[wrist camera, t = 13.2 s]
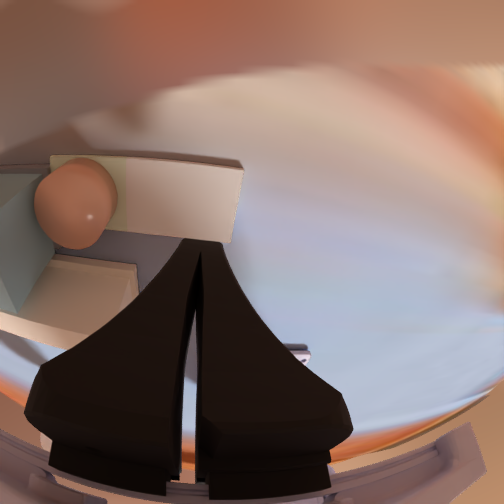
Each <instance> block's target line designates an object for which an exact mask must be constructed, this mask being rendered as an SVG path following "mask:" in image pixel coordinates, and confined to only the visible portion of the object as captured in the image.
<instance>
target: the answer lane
mask: <svg viewBox="0 0 504 504" xmlns="http://www.w3.org/2000/svg"><path fill="white" fill-rule="evenodd" d="M74 158H89V159H91V160H94V161H96V162H98V163H99V164H101V165H102V166H103V167H104V168H105V169H106V170H107V171H108V172H109V174H110V175H111V177H112V178H113V180H114V183H115V185H116V189H117V195H118V201H117V207H116V210H115V213H114V215H113V216H112V218H111V219H110V221H109V223H108V224H107V226H106V227H105V229H108V230H117V231H126V232H134V233H143V234H152V235H161V236H170V237H179V238H190V239H199V240H207V241H216V242H224V243H230V242H231V237H232V232H233V226H234V221H235V215H236V210H237V205H238V200H239V194H240V189H241V184H242V179H243V174H244V169H243V168H237V167H229V166H222V165H214V164H206V163H197V162H188V161H178V160H168V159H155V158H142V157H125V156H101V155H52V156H50V170H51V173H52V172H53V171H55V170H56V169H57V168H58V167H60V166H61V165H62V164H64V163H65V162H67V161H68V160H71V159H74Z"/></svg>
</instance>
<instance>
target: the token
mask: <svg viewBox="0 0 504 504" xmlns="http://www.w3.org/2000/svg"><path fill="white" fill-rule="evenodd" d="M117 201H118V195H117V189H116V185H115V183H114V180H113V178H112V177H111V175H110V174H109V172H108V171H107V170H106V169H105V168H104V167H103V166H102V165H101V164H99V163H98V162H96V161H94V160H91V159H89V158H74V159H71V160H68V161H67V162H65V163H64V164H62V165H61V166H60V167H58V168H57V169H56V170H55V171H53V172H52V173H51V174H49V175H48V176H47V177H46V178H44V179H43V180H42V181H41V182H40V184H39V185H38V187H37V189H36V192H35V197H34V210H35V214H36V218H37V220H38V223H39V224H40V226H41V228H42V229H43V231H44V232H45V233H46V235H47V236H48V237H49V238H50V239H52V240H53V241H54V242H56V243H57V244H59V245H61V246H63V247H65V248H69V249H84V248H87V247H90V246H91V245H93V244H94V243H95V242H96V241H97V240H98V239H99V237H100V235H101V234H102V232H103V231H104V229H105V227H106V226H107V224H108V223H109V221H110V219H111V218H112V216H113V215H114V213H115V210H116V207H117Z"/></svg>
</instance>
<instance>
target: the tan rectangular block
mask: <svg viewBox="0 0 504 504" xmlns="http://www.w3.org/2000/svg"><path fill="white" fill-rule="evenodd" d="M138 295H139V289H138V279H137V267H136V264H128V263H120V262H112V261H104V260H97V259H90V258H82V257H75V256H68V255H61V254H54V255H53V257H52V258H51V260H50V261H49V263H48V264H47V266H46V267H45V269H44V270H43V272H42V273H41V275H40V276H39V278H38V280H37V281H36V283H35V285H34V286H33V288H32V290H31V291H30V293H29V295H28V296H27V298H26V300H25V302H24V303H23V305H22V307H21V309H20V311H19V312H18V314H16V313H13V312H10V311H7V310H4V309H1V308H0V329H1V330H4V331H6V332H9V333H12V334H15V335H18V336H21V337H24V338H27V339H30V340H33V341H37V342H40V343H43V344H47V345H51V346H54V347H58V348H62V349H65V350H69V349H70V348H72V347H74V346H75V345H77V344H78V343H80V342H81V341H83V340H84V339H85V338H87V337H88V336H90V335H91V334H92V333H94V332H95V331H97V330H98V329H100V328H101V327H102V326H104V325H105V324H106V323H107V322H109V321H110V320H111V319H112V318H113V317H115V316H116V315H117V314H118V313H119V312H120V311H122V310H123V309H124V308H125V307H126V306H127V305H128V304H129V303H130V302H132V301H133V300H134V299H135V298H136V297H137V296H138Z"/></svg>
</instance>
